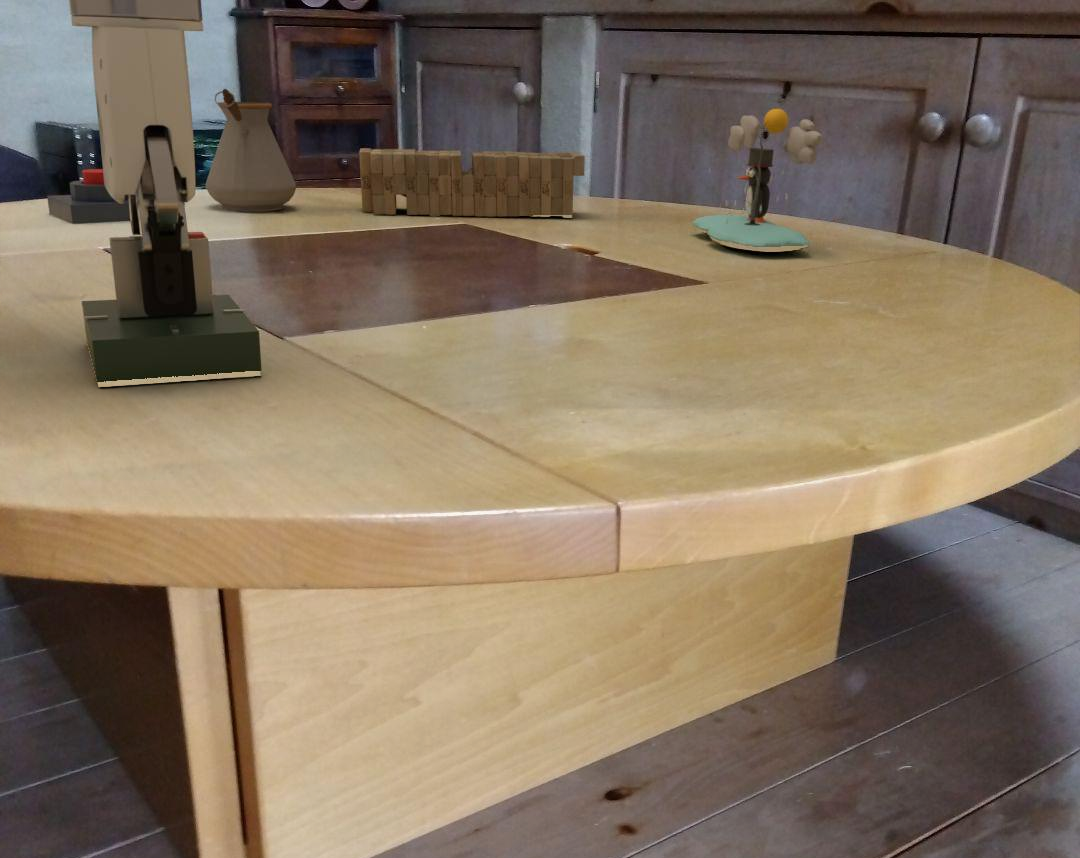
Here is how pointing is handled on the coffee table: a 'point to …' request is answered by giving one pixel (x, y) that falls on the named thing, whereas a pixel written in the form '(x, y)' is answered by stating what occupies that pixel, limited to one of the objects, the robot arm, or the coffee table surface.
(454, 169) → the block tower
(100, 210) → the button block
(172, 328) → the block
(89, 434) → the coffee table surface
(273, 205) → the coffee pot
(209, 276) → the upright beige tablet
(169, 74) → the robot arm
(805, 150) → the penguin figurine
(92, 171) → the release button
